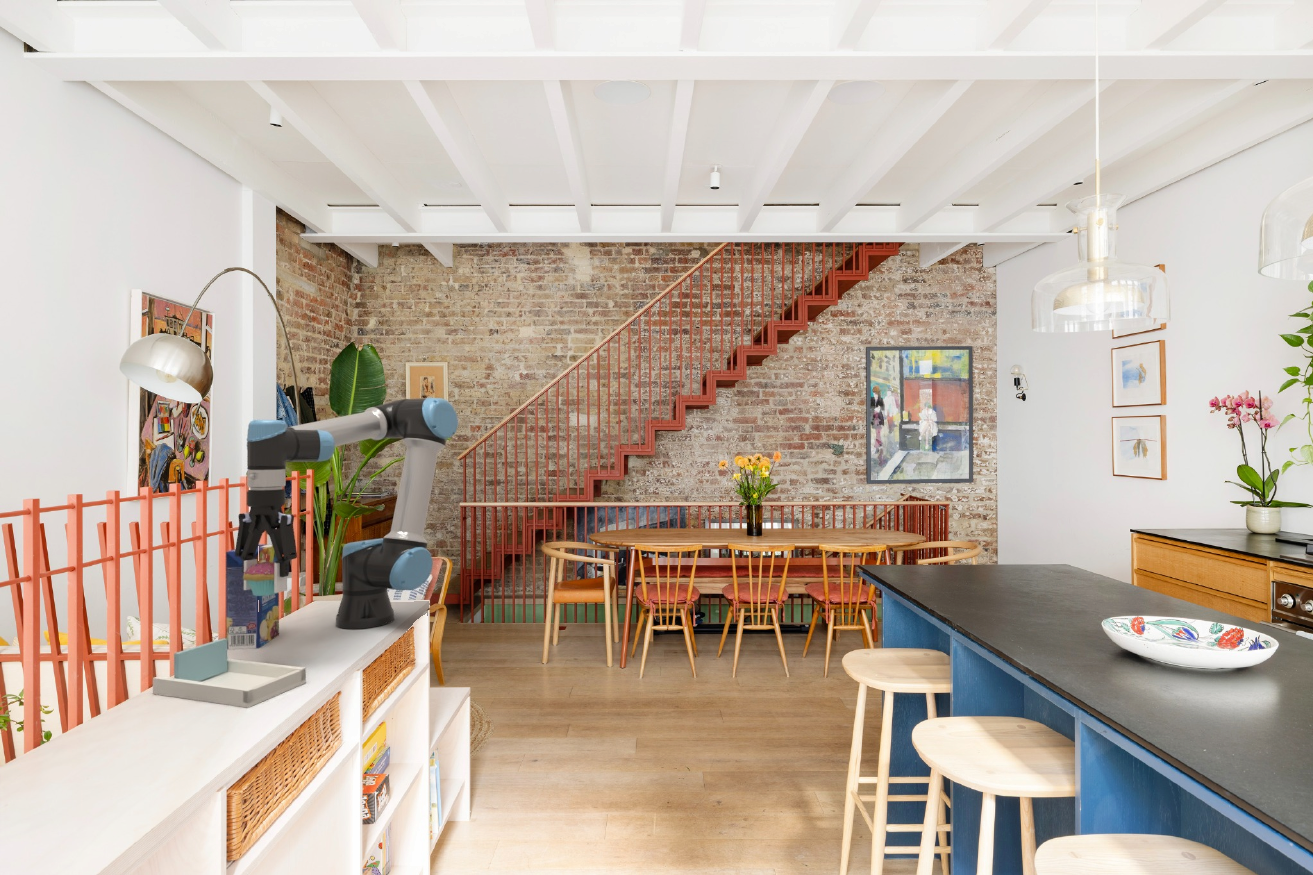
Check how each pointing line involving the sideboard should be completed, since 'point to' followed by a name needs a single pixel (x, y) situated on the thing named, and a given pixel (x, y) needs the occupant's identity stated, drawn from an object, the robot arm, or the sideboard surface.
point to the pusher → (201, 661)
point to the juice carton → (249, 606)
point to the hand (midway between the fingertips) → (265, 590)
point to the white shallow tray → (235, 684)
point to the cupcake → (261, 577)
